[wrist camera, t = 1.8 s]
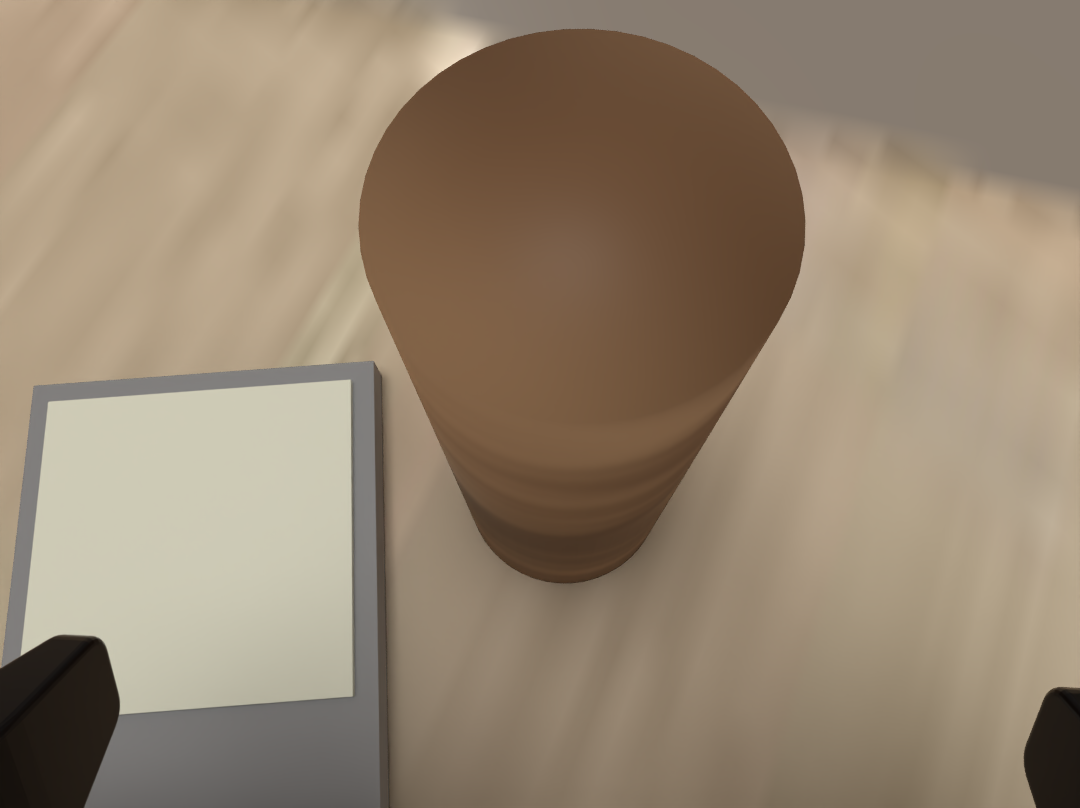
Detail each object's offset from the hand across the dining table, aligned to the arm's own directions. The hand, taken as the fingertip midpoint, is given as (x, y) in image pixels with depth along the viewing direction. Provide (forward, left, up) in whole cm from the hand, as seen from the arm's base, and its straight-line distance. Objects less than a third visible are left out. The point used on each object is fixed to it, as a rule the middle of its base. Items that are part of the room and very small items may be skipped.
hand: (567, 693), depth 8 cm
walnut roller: (+4, +3, -11) cm, 12 cm away
